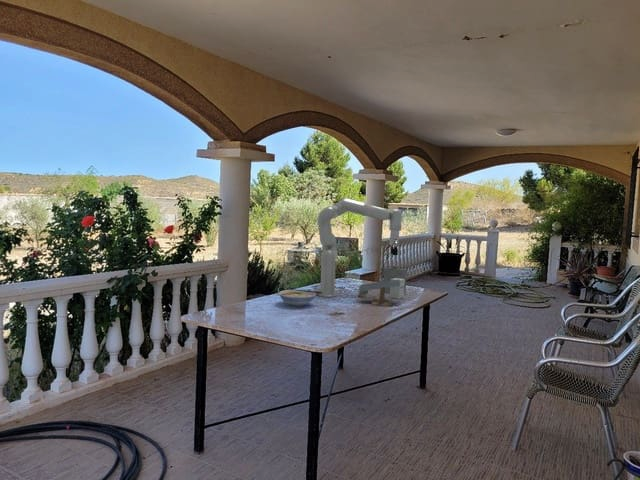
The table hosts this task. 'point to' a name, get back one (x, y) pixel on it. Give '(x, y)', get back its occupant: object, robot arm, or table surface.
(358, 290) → the brass weight
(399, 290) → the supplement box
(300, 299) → the ramen bowl
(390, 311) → the table surface
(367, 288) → the balance beam
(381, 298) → the pivot stand
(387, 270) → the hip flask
